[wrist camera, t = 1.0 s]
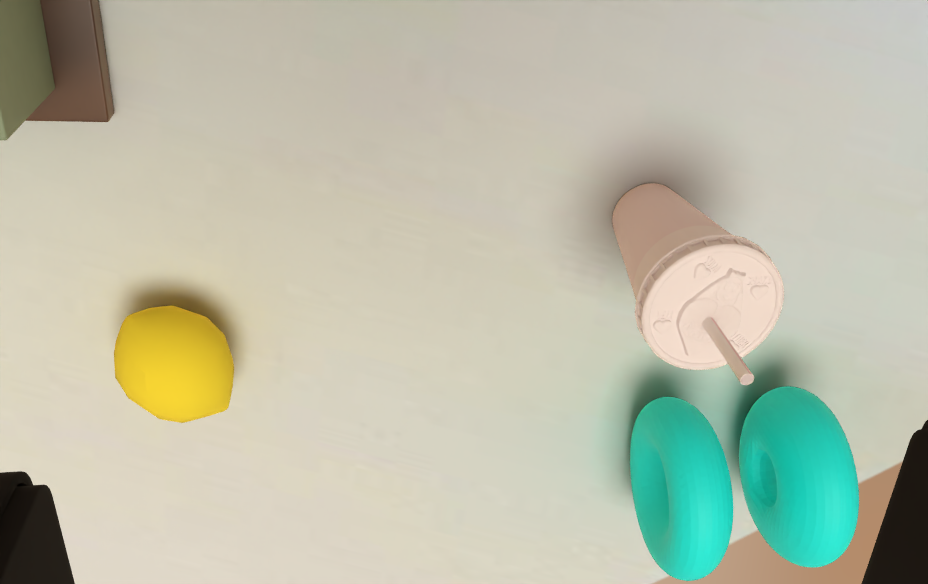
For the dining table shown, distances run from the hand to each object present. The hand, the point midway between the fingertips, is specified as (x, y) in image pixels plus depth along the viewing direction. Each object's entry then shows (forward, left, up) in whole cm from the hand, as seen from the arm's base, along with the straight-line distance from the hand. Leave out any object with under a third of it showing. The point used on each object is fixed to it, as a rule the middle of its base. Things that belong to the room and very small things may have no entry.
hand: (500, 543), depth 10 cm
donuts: (+25, +20, -34) cm, 47 cm away
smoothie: (+11, +14, -34) cm, 38 cm away
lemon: (+18, -10, -34) cm, 40 cm away
